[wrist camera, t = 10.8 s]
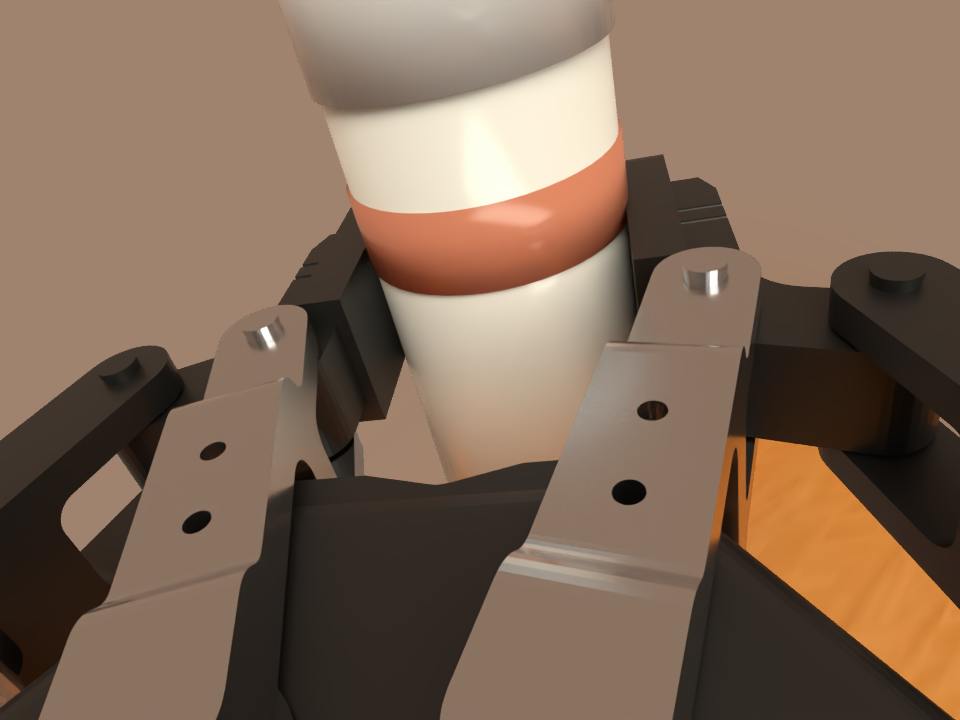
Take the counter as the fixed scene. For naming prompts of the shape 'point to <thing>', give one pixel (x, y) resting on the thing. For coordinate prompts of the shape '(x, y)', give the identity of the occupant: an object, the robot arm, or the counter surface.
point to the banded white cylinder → (483, 202)
